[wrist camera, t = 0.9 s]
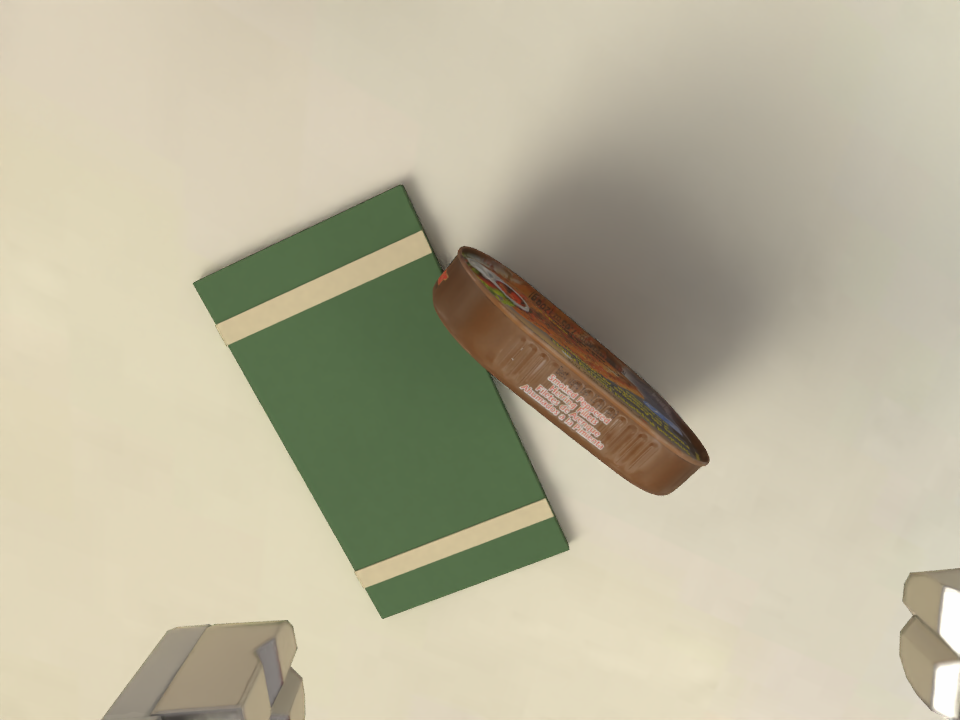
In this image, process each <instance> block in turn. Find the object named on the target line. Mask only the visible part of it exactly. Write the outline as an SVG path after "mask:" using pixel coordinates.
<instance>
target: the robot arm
mask: <svg viewBox="0 0 960 720" xmlns="http://www.w3.org/2000/svg"><path fill="white" fill-rule="evenodd" d="M903 603H904V604H905V605H906V607H907V608H908V609H909V611H910V612H911V613H912V615H913V616H912V617H911V619H910V620H909V621H908V622H907V624H906V625H905V626H904V627H903V629H902V630H901V631H900V649H899V655H900V658H901V662H902V665H903V668H904V671H905V675H906V678H907V679H908V681H909V683H910V684H911V686H912V688H913V689H914V691H915V693H916V694H917V695H918V696H919V698H920V699H921V700H922V701H923V702H924V703H925V704H926V705H927V706H928V708H929V709H930V710H931V711H933V712H935V713H937V714H939V715H941V716H943V717H945V718H947V719H949V720H960V568H955V569H945V570H934V571H924V572H913V573H910V574H909V576H908V578H907V580H906V582H905V584H904V591H903ZM296 651H297V644H296V639H295V634H294V629H293V626H292V625H291V624H290V623H289V621H288V620H280V621H263V622H245V623H227V624H214V625H209V624H207V625H195V626H184V627H176V628H174V629H171V630H169V631H167V632H166V634H165V635H164V636H163V638H162V639H161V640H160V642H159V643H158V644H157V646H156V647H155V648H154V650H153V651H152V652H151V654H150V655H149V656H148V658H147V659H146V660H145V662H144V663H143V664H142V666H141V667H140V668H139V670H138V671H137V672H136V674H135V675H134V676H133V678H132V679H131V680H130V682H129V683H128V684H127V686H126V687H125V688H124V690H123V691H122V692H121V694H120V695H119V697H118V698H117V699H116V701H115V702H114V703H113V705H112V706H111V707H110V709H109V710H108V711H107V713H106V714H105V715H104V717H103V718H102V719H101V720H305V693H304V686H303V679H302V677H301V676H300V675H299V674H298V673H297V672H296V671H295V670H294V669H293V668H292V667H291V663H292V661H293V658H294V656H295V653H296Z"/></svg>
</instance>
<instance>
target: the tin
mask: <svg viewBox="0 0 960 720" xmlns="http://www.w3.org/2000/svg"><path fill="white" fill-rule="evenodd" d="M433 305H434V308H435V311H436V313H437V315H438V316H439V318H440V320H441V321H442V323H443V324H444V326H445V327H446V328H447V330H448V331H449V332H450V334H451V335H452V336H453V337H454V338H455V340H456V341H457V342H458V343H459V344H460V345H461V346H462V347H463V348H464V349H465V350H466V351H467V352H468V353H469V354H470V355H471V356H472V357H473V358H474V359H475V360H476V361H477V362H478V363H479V364H480V365H481V366H482V367H484V368H485V369H486V370H487V371H488V372H490V373H491V374H492V375H493V376H494V377H496V378H497V379H498V380H499V381H501V382H502V383H503V384H504V385H506V386H507V387H508V388H509V389H511V390H512V391H513V392H514V393H515V394H517V395H518V396H519V397H520V398H522V399H523V400H524V401H525V402H527V403H528V404H529V405H530V406H532V407H533V408H534V409H536V410H537V411H538V412H539V413H541V414H542V415H543V416H544V417H546V418H547V419H548V420H549V421H551V422H552V423H553V424H554V425H556V426H557V427H558V428H560V429H561V430H562V431H563V432H565V433H566V434H567V435H568V436H570V437H571V438H572V439H573V440H575V441H576V442H577V443H579V444H580V445H581V446H582V447H584V448H585V449H586V450H588V451H589V452H590V453H591V454H593V455H594V456H595V457H597V458H598V459H599V460H601V461H602V462H603V463H604V464H606V465H607V466H608V467H610V468H611V469H612V470H614V471H615V472H616V473H617V474H619V475H620V476H621V477H623V478H624V479H626V480H627V481H629V482H630V483H632V484H633V485H635V486H637V487H639V488H640V489H642V490H644V491H646V492H648V493H651V494H655V495H668V494H670V493H671V492H673V491H674V490H675V489H677V488H678V487H679V486H680V485H682V484H683V483H684V482H685V481H686V480H687V479H688V478H689V477H690V476H691V475H693V474H694V473H695V472H696V471H697V470H698V469H699V468H700V467H702V466H706V465H707V464H708V463H709V460H710V459H709V456H708V453H707V451H706V449H705V448H704V446H703V445H702V443H701V442H700V440H699V439H698V438H697V436H696V435H695V434H694V433H693V431H692V430H691V429H690V428H689V427H688V425H687V424H686V423H685V422H684V421H683V420H682V419H681V417H680V416H679V415H678V414H677V413H676V412H675V411H674V409H673V408H672V407H671V406H670V405H669V404H668V403H667V402H666V401H665V400H664V399H663V398H662V397H661V396H660V395H659V394H658V393H657V392H656V391H655V390H654V389H653V388H652V387H651V386H650V385H649V384H648V383H646V382H645V381H644V380H643V379H642V378H640V377H639V376H638V375H637V374H636V373H635V372H634V371H633V370H632V369H630V368H629V367H628V366H627V365H626V364H625V363H623V362H622V361H621V360H620V359H618V358H617V357H616V356H615V355H614V354H612V353H611V352H610V351H609V350H608V349H606V348H605V347H604V346H603V345H602V344H600V343H599V342H598V341H597V340H596V339H594V338H593V337H592V336H591V335H590V334H588V333H587V332H586V331H585V330H584V329H582V328H581V327H580V326H579V325H578V324H576V323H575V322H574V321H573V320H572V319H570V318H569V317H568V316H567V315H566V314H564V313H563V312H562V311H561V310H560V309H558V308H557V307H556V306H555V305H554V304H552V303H551V302H550V301H549V300H548V299H546V298H545V297H544V296H543V295H542V294H540V293H539V292H538V291H537V290H536V289H534V288H533V287H532V286H531V285H530V284H528V283H527V282H526V281H525V280H523V279H522V278H521V277H519V276H518V275H517V274H515V273H514V272H512V271H511V270H510V269H508V268H507V267H506V266H504V265H503V264H501V263H500V262H498V261H497V260H495V259H494V258H492V257H490V256H489V255H487V254H485V253H483V252H481V251H479V250H477V249H474V248H471V247H466V246H463V247H461V248H460V249H459V250H458V255H457V256H456V257H455V259H454V260H453V261H452V263H451V264H450V265H449V266H448V268H447V269H446V270H445V271H444V272H443V273H442V275H441V276H440V277H439V279H438V280H437V281H436V283H435V285H434V287H433Z"/></svg>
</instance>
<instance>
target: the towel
mask: <svg viewBox="0 0 960 720" xmlns="http://www.w3.org/2000/svg"><path fill="white" fill-rule="evenodd" d="M442 273H443V271H442V269H441V266H440V264H439V262H438V260H437V258H436V256H435V253H434V251H433V249H432V247H431V245H430V243H429V240H428V238H427V236H426V234H425V232H424V230H423V227H422V225H421V223H420V221H419V219H418V216H417V214H416V212H415V210H414V208H413V206H412V203H411V201H410V199H409V197H408V195H407V193H406V190H405V188H404V186H403V185H399V186H397V187H394V188H392V189H390V190H388V191H386V192H384V193H382V194H380V195H378V196H375V197H373V198H371V199H369V200H367V201H365V202H363V203H361V204H358V205H356V206H354V207H352V208H350V209H348V210H346V211H344V212H342V213H339V214H337V215H335V216H333V217H331V218H329V219H327V220H325V221H323V222H320V223H318V224H316V225H314V226H312V227H310V228H308V229H306V230H304V231H301V232H299V233H297V234H295V235H293V236H291V237H289V238H287V239H285V240H282V241H280V242H278V243H276V244H274V245H272V246H270V247H268V248H266V249H263V250H261V251H259V252H257V253H255V254H253V255H251V256H249V257H246V258H244V259H242V260H240V261H238V262H236V263H234V264H232V265H230V266H227V267H225V268H223V269H221V270H219V271H217V272H215V273H213V274H211V275H208V276H206V277H204V278H202V279H200V280H198V281H196V282H194V283H193V285H194V286H195V288H196V290H197V292H198V293H199V295H200V297H201V299H202V301H203V302H204V304H205V306H206V308H207V309H208V311H209V313H210V315H211V317H212V318H213V320H214V322H215V324H216V325H215V327H216V328H217V330H218V332H219V334H220V335H221V337H222V339H223V341H224V342H225V344H226V346H227V345H228V347H229V348H230V350H231V352H232V354H233V355H234V357H235V359H236V361H237V363H238V364H239V366H240V368H241V370H242V371H243V373H244V375H245V377H246V379H247V380H248V382H249V384H250V386H251V387H252V389H253V391H254V393H255V394H256V396H257V398H258V400H259V402H260V403H261V405H262V407H263V409H264V410H265V412H266V414H267V416H268V417H269V419H270V421H271V423H272V425H273V426H274V428H275V430H276V432H277V433H278V435H279V437H280V439H281V440H282V442H283V444H284V446H285V448H286V449H287V451H288V453H289V455H290V456H291V458H292V460H293V462H294V464H295V465H296V467H297V469H298V471H299V472H300V474H301V476H302V478H303V479H304V481H305V483H306V485H307V487H308V488H309V490H310V492H311V494H312V495H313V497H314V499H315V501H316V502H317V504H318V506H319V508H320V510H321V511H322V513H323V515H324V517H325V518H326V520H327V522H328V524H329V526H330V527H331V529H332V531H333V533H334V534H335V536H336V538H337V540H338V541H339V543H340V545H341V547H342V549H343V550H344V552H345V554H346V556H347V557H348V559H349V561H350V563H351V564H352V566H353V568H354V570H355V574H356V576H357V578H358V579H359V581H360V583H361V585H362V587H363V588H365V589H366V591H367V593H368V595H369V596H370V598H371V600H372V602H373V603H374V605H375V607H376V609H377V611H378V612H379V614H380V616H381V618H382V619H384V618H387V617H389V616H392V615H395V614H397V613H400V612H403V611H406V610H408V609H411V608H414V607H416V606H419V605H422V604H424V603H427V602H430V601H433V600H435V599H438V598H441V597H443V596H446V595H449V594H451V593H454V592H457V591H460V590H462V589H465V588H468V587H470V586H473V585H476V584H478V583H481V582H484V581H487V580H489V579H492V578H495V577H497V576H500V575H503V574H505V573H508V572H511V571H514V570H516V569H519V568H522V567H524V566H527V565H530V564H532V563H535V562H538V561H541V560H543V559H546V558H549V557H551V556H554V555H557V554H560V553H562V552H565V551H568V550H569V545H568V542H567V540H566V538H565V536H564V534H563V531H562V529H561V527H560V525H559V523H558V521H557V518H556V516H555V514H554V512H553V510H552V508H551V505H550V503H549V501H548V499H547V497H546V495H545V492H544V490H543V488H542V486H541V484H540V482H539V479H538V477H537V475H536V473H535V471H534V468H533V466H532V464H531V462H530V460H529V458H528V455H527V453H526V451H525V449H524V447H523V445H522V442H521V440H520V438H519V436H518V434H517V432H516V429H515V427H514V425H513V423H512V421H511V419H510V416H509V414H508V412H507V410H506V408H505V405H504V403H503V401H502V399H501V397H500V395H499V392H498V390H497V388H496V386H495V384H494V382H493V379H492V377H491V375H490V373H489V372H488V371H487V370H486V369H485V368H484V367H482V366H481V365H480V364H479V363H478V362H477V361H476V360H475V359H474V358H473V357H472V356H471V355H470V354H469V353H468V352H467V351H466V350H465V349H464V348H463V347H462V346H461V345H460V344H459V343H458V342H457V341H456V340H455V338H454V337H453V336H452V335H451V334H450V332H449V331H448V330H447V328H446V327H445V326H444V324H443V323H442V321H441V320H440V318H439V316H438V315H437V313H436V311H435V308H434V305H433V287H434V285H435V283H436V281H437V280H438V279H439V277H440V276H441V275H442Z"/></svg>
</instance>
